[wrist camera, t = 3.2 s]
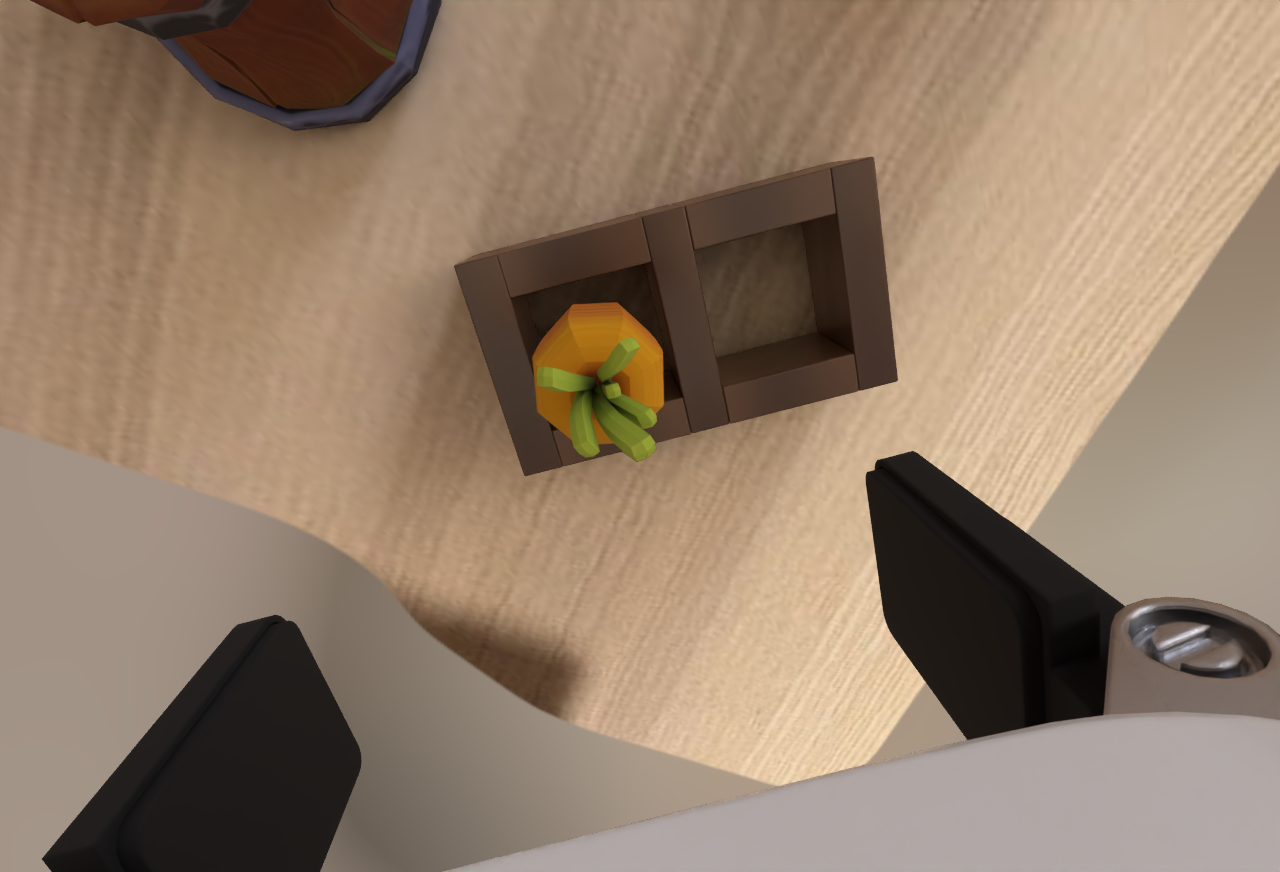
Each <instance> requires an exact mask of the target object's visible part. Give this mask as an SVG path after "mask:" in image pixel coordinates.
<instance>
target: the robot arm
mask: <svg viewBox="0 0 1280 872" xmlns="http://www.w3.org/2000/svg"><path fill="white" fill-rule="evenodd" d="M866 487H867V495H868V502H869V509H870V517H871V524H872V532H873V539H874V546H875V554H876V561H877V569H878V576H879V584H880V591H881V598H882V606H883V612H884V617H885V620H886V623H887V626H888V628H889V630H890V632H891V634H892V635H893V637H894V638H895V640H896V641H897V643H898V644H899V645H900V647H901V648H902V650H903V651H904V652H905V654H906V655H907V657H908V658H909V659H910V661H911V662H912V664H913V665H914V666H915V668H916V669H917V670H918V672H919V673H920V675H921V676H922V677H923V679H924V680H925V682H926V683H927V684H928V686H929V687H930V689H931V690H932V691H933V693H934V694H935V695H936V697H937V698H938V700H939V701H940V703H941V704H942V705H943V707H944V708H945V709H946V711H947V712H948V714H949V715H950V716H951V718H952V719H953V721H954V722H955V723H956V725H957V726H958V727H959V729H960V730H961V732H962V733H963V735H964V736H965V737H966V738H967V740H966V741H962V742H957V743H953V744H947V745H943V746H939V747H934V748H930V749H927V750H922V751H918V752H914V753H910V754H907V755H902V756H898V757H894V758H891V759H886V760H882V761H878V762H874V763H870V764H866V765H862V766H858V767H854V768H850V769H846V770H842V771H838V772H834V773H830V774H826V775H822V776H818V777H814V778H810V779H806V780H802V781H797V782H793V783H789V784H785V785H781V786H777V787H774V788H770V789H765V790H761V791H757V792H753V793H749V794H745V795H741V796H737V797H734V798H729V799H725V800H721V801H717V802H713V803H709V804H705V805H702V806H698V807H694V808H690V809H686V810H682V811H678V812H674V813H670V814H666V815H662V816H658V817H654V818H650V819H647V820H643V821H639V822H635V823H631V824H627V825H623V826H619V827H615V828H611V829H607V830H604V831H600V832H596V833H592V834H588V835H584V836H580V837H576V838H572V839H568V840H564V841H561V842H556V843H553V844H549V845H545V846H541V847H537V848H533V849H529V850H525V851H521V852H517V853H513V854H510V855H505V856H501V857H498V858H494V859H490V860H486V861H482V862H478V863H475V864H471V865H466V866H462V867H458V868H454V869H450V870H446V871H442V872H1280V635H1279V634H1278V633H1277V632H1276V631H1274V630H1273V629H1272V628H1271V627H1270V626H1269V625H1267V624H1265V623H1264V622H1262V621H1259V620H1258V619H1256V618H1254V617H1252V616H1250V615H1249V614H1247V613H1245V612H1242V611H1239V610H1236V609H1233V608H1230V607H1228V606H1225V605H1222V604H1218V603H1213V602H1209V601H1204V600H1199V599H1194V598H1178V597H1161V598H1152V599H1144V600H1141V601H1138V602H1135V603H1132V604H1129V605H1127V606H1124V605H1123V604H1121V603H1120V602H1119V601H1117V600H1116V599H1115V598H1113V597H1112V596H1111V595H1109V594H1108V593H1107V592H1105V591H1104V590H1102V589H1101V588H1100V587H1098V586H1097V585H1096V584H1094V583H1093V582H1092V581H1090V580H1089V579H1088V578H1086V577H1085V576H1084V575H1082V574H1081V573H1080V572H1078V571H1077V570H1075V569H1074V568H1072V567H1071V566H1070V565H1069V564H1067V563H1066V562H1064V561H1063V560H1062V559H1061V558H1059V557H1058V556H1057V555H1055V554H1054V553H1052V552H1051V551H1050V550H1048V549H1047V548H1046V547H1044V546H1043V545H1041V544H1040V543H1039V542H1038V541H1036V540H1035V539H1034V538H1032V537H1031V536H1030V535H1028V534H1027V533H1025V532H1024V531H1023V530H1021V529H1020V528H1019V527H1017V526H1016V525H1015V524H1013V523H1012V522H1011V521H1009V520H1008V519H1006V518H1004V517H1003V516H1001V515H1000V514H999V513H997V512H996V511H994V510H993V509H992V508H990V507H989V506H988V505H986V504H985V503H984V502H982V501H981V500H980V499H978V498H977V497H976V496H974V495H973V494H972V493H970V492H969V491H968V490H966V489H965V488H964V487H962V486H961V485H959V484H958V483H957V482H955V481H954V480H953V479H951V478H950V477H949V476H947V475H946V474H945V473H943V472H942V471H941V470H939V469H938V468H937V467H935V466H934V465H933V464H931V463H930V462H928V461H927V460H926V459H924V458H923V457H922V456H920V455H919V454H918V453H916V452H914V451H911V452H907V453H904V454H900V455H896V456H892V457H888V458H884V459H880V460H877V462H876V463H875V470H873V471H870V472H867V474H866ZM360 768H361V752H360V749H359V746H358V744H357V742H356V740H355V738H354V736H353V734H352V732H351V730H350V728H349V726H348V724H347V722H346V720H345V718H344V716H343V714H342V712H341V710H340V708H339V706H338V704H337V702H336V700H335V698H334V697H333V694H332V692H331V690H330V688H329V686H328V685H327V683H326V681H325V679H324V677H323V675H322V673H321V671H320V669H319V667H318V665H317V663H316V661H315V659H314V657H313V655H312V653H311V651H310V649H309V647H308V646H307V643H306V641H305V639H304V637H303V635H302V633H301V631H300V629H299V628H298V626H297V625H296V624H295V623H294V622H292V621H286V620H285V619H284V618H282V617H281V616H278V615H273V616H269V617H265V618H261V619H257V620H254V621H250V622H246V623H242V624H238V625H237V626H236V627H234V628H233V629H232V631H231V632H230V633H229V634H228V635H227V637H226V638H225V639H224V640H223V641H222V643H221V644H220V645H219V646H218V647H217V649H216V650H215V651H214V652H213V653H212V655H211V656H210V657H209V659H207V661H206V662H205V663H204V664H203V665H202V667H201V668H200V669H199V670H198V671H197V673H196V674H195V675H194V676H193V678H192V679H191V680H190V681H189V682H188V684H187V685H186V686H185V687H184V688H183V690H182V691H181V692H180V693H179V694H178V696H177V697H176V698H175V699H174V700H173V702H172V703H171V704H170V705H169V706H168V708H167V709H166V710H165V711H164V712H163V714H162V715H161V716H160V717H159V718H158V720H157V721H156V722H155V723H154V724H153V726H152V727H151V728H150V729H149V730H148V732H147V733H146V734H145V735H144V736H143V738H142V739H141V740H140V741H139V742H138V744H137V745H136V746H135V747H134V749H133V750H132V751H131V752H130V753H129V755H128V756H127V757H126V758H125V760H124V761H123V762H122V763H121V764H120V765H119V767H118V768H117V769H116V770H115V771H114V773H113V774H112V775H111V776H110V777H109V779H108V780H107V781H106V782H105V783H104V785H103V786H102V787H101V788H100V789H99V791H98V792H97V793H96V795H95V796H94V797H93V798H92V799H91V800H90V801H89V803H88V804H87V805H86V806H85V808H84V809H83V810H82V811H81V812H80V814H79V815H78V816H77V817H76V818H75V820H74V821H73V822H72V823H71V824H70V826H69V827H68V828H67V829H66V830H65V832H64V833H63V834H62V835H61V836H60V838H59V839H58V840H57V841H56V842H55V844H54V845H53V846H52V847H51V848H50V850H49V851H48V852H47V853H46V855H45V856H44V857H43V858H42V860H43V861H44V862H45V864H46V865H47V866H48V868H49V869H50V870H51V871H52V872H320V870H321V868H322V866H323V863H324V860H325V858H326V855H327V853H328V850H329V848H330V845H331V843H332V840H333V838H334V835H335V832H336V830H337V828H338V825H339V823H340V820H341V818H342V815H343V812H344V810H345V808H346V805H347V802H348V800H349V797H350V795H351V792H352V790H353V787H354V785H355V782H356V780H357V777H358V775H359V772H360Z"/></svg>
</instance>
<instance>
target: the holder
mask: <svg viewBox="0 0 1280 872" xmlns="http://www.w3.org/2000/svg"><path fill="white" fill-rule="evenodd" d="M798 223H802V226H803V232H804V239H805V246H806V253H807V260H808V266H809V273H810V280H811V287H812V293H813V300H814V307H815V314H816V320H817V327H818V332H816V333H812V334H808V335H804V336H800V337H797V338H793V339H789V340H785V341H781V342H777V343H773V344H769V345H765V346H761V347H758V348H754V349H750V350H746V351H742V352H738V353H734V354H730V355H726V356H722V357H719V358H716V355H715V350H714V345H713V341H712V336H711V331H710V326H709V321H708V316H707V312H706V307H705V302H704V297H703V292H702V288H701V283H700V278H699V273H698V268H697V263H696V259H695V254H694V250H698V249H702V248H706V247H710V246H713V245H717V244H721V243H725V242H729V241H733V240H737V239H740V238H744V237H748V236H752V235H756V234H760V233H764V232H768V231H771V230H775V229H779V228H783V227H787V226H791V225H795V224H798ZM644 263H645V265H646V269H647V274H648V278H649V282H650V286H651V291H652V295H653V299H654V303H655V308H656V312H657V316H658V320H659V325H660V329H661V333H662V338H663V342H664V346H665V350H666V355H667V359H668V363H669V367H670V370H667V371H664V372H663V380H664V405H663V407H662V408H661V409H660V410H659V411H658V412H657V413H656V416H657V422H656V423H655V424H654V425H653V427H650V428H646V429H643V430H644V431H645V432H647V433H648V434H649V435H650V436H651V437H652V438H653V440H654V441H655V443H657V442H661V441H665V440H669V439H673V438H677V437H681V436H685V435H689V434H691V433H696V432H700V431H703V430H707V429H711V428H715V427H719V426H723V425H727V424H729V422H730V423H735V422H739V421H743V420H747V419H751V418H755V417H759V416H763V415H767V414H771V413H774V412H778V411H782V410H786V409H790V408H794V407H798V406H802V405H806V404H810V403H814V402H818V401H822V400H825V399H829V398H833V397H837V396H841V395H845V394H849V393H853V392H857V391H859V390H860V391H861V390H865V389H869V388H873V387H877V386H881V385H884V384H888V383H892V382H896V381H898V378H897V368H896V359H895V350H894V340H893V331H892V321H891V312H890V303H889V293H888V284H887V275H886V265H885V256H884V246H883V237H882V228H881V218H880V209H879V200H878V190H877V181H876V172H875V162H874V157H866V158H859V159H852V160H845V161H838V162H831V163H827V164H823V165H819V166H815V167H812V168H808V169H804V170H800V171H796V172H792V173H789V174H785V175H781V176H777V177H773V178H769V179H766V180H762V181H758V182H754V183H750V184H746V185H742V186H739V187H735V188H731V189H727V190H723V191H719V192H716V193H712V194H708V195H704V196H700V197H696V198H693V199H689V200H685V201H681V202H677V203H673V204H671V205H666V206H662V207H658V208H654V209H650V210H647V211H643V212H639V213H635V214H631V215H627V216H623V217H620V218H616V219H612V220H608V221H604V222H600V223H596V224H593V225H589V226H585V227H581V228H577V229H573V230H570V231H566V232H562V233H558V234H554V235H550V236H547V237H543V238H539V239H535V240H531V241H527V242H523V243H520V244H516V245H512V246H508V247H504V248H500V249H497V250H493V251H489V252H485V253H481V254H477V255H474V256H472V257H470V258H468V259H466V260H464V261H462V262H460V263H458V264H456V265H455V266H454V268H455V271H456V274H457V277H458V280H459V283H460V286H461V289H462V292H463V295H464V298H465V301H466V303H467V306H468V309H469V312H470V315H471V318H472V321H473V324H474V327H475V330H476V333H477V336H478V339H479V342H480V345H481V348H482V351H483V354H484V357H485V360H486V363H487V366H488V369H489V372H490V375H491V378H492V381H493V384H494V387H495V390H496V393H497V396H498V399H499V402H500V405H501V408H502V410H503V413H504V416H505V419H506V422H507V425H508V428H509V431H510V434H511V437H512V440H513V443H514V446H515V449H516V452H517V455H518V458H519V461H520V464H521V467H522V470H523V473H524V476H528V475H532V474H536V473H540V472H544V471H548V470H552V469H556V468H560V467H562V466H567V465H571V464H575V463H579V462H583V461H587V460H591V459H595V458H599V457H602V456H606V455H610V454H614V453H618V452H622V450H621V449H620V448H619V447H617V446H616V445H615V444H614V443H611V444H598V445H599V450H600V452H599V453H598V454H596V455H595V456H593V457H584V456H582V455H580V454H579V453H578V452H577V451H576V449H575V448H574V447H573V443H572V440H571V439H570V438H568V437H567V436H566V435H565V434H564V433H562V432H561V431H560V430H559V429H557V428H556V427H555V426H554V425H553V424H551V423H550V422H549V421H548V420H546V419H545V418H544V417H543V416H542V415H540V414H539V413H538V412H537V403H536V393H535V382H534V371H533V360H532V357H533V355H534V352H535V350H536V348H537V346H538V345H539V343H540V342H539V338H538V335H537V332H536V328H535V325H534V322H533V319H532V315H531V312H530V309H529V305H528V302H527V299H526V295H525V294H528V293H532V292H536V291H540V290H544V289H548V288H552V287H555V286H559V285H563V284H567V283H571V282H575V281H579V280H582V279H586V278H590V277H594V276H598V275H602V274H606V273H610V272H613V271H617V270H621V269H625V268H629V267H633V266H637V265H640V264H644ZM641 429H642V428H641Z"/></svg>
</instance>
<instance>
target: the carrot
mask: <svg viewBox="0 0 1280 872" xmlns="http://www.w3.org/2000/svg"><path fill="white" fill-rule="evenodd" d="M532 360H533V371H534V382H535V393H536V403H537V412H538V413H539V414H540V415H542V416H543V417H544V418H545V419H546V420H548V421H549V422H550V423H551V424H553V425H554V426H555V427H556V428H557V429H559V430H560V431H561V432H562V433H564V434H565V435H566V436H567V437H568V438H570V439H571V440H572V443H573V447H574V448H575V449H576V451H577V452H578V453H579V454H580V455H582V456H584V457H593V456H595V455H596V454H598V453H599V452H600V450H599V445H598V444H611V443H614V444H615V445H616V446H617V447H619V448H620V449H621V450H622V451H623V452H624V453H625V454H627V455H628V456H629V457H631V458H632V459H634V460H635V461H636V462H639V461H641V460H644V459H646V458H648V457H649V456H650V455H651V454H652V453H653V452H654V451H655V450H656V444H655V441H654V440H653V438H652V437H651V436H650V435H649V434H648V433H647V432H645V431H644V430H643V429H646V428H650V427H653V425H654V424H655V423H656V422H657V416H656V413H657V412H658V411H659V410H660V409H661V408H662V407H663V405H664V380H663V350H662V349H661V347H660V345H659V344H658V342H657V341H656V339H655V338H654V337H653V336H652V334H651V333H650V332H649V331H648V330H647V329H646V328H645V327H643V326H642V325H641V324H640V323H639V322H638V321H637V320H636V319H635V318H634V317H633V316H632V315H630V314H629V313H628V312H627V311H626V310H625V309H624V308H623V307H622V306H621V305H620V304H618V303H617V302H613V303H591V304H572V306H571V307H570V308H569V309H568V310H567V311H566V312H565V313H564V315H563V316H562V317H561V318H560V319H559V320H558V321H557V322H556V324H555V325H554V326H553V327H552V328H551V329H550V330H549V332H548V333H547V334H546V335H545V336H544V337H543V339H542V340H541V342H540V343H539V345H538V346H537V348H536V350H535V352H534V355H533V357H532ZM641 428H642V429H641Z"/></svg>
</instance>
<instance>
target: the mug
mask: <svg viewBox="0 0 1280 872" xmlns="http://www.w3.org/2000/svg"><path fill="white" fill-rule="evenodd" d="M30 1H33V2H35V3H37V4H39V5H41V6H43V7H45V8H47V9H49V10H51V11H53V12H55V13H57V14H59V15H61V16H63V17H65V18H67V19H69V20H71V21H73V22H76V23H82V22H85V21H87V22H89V23H91V24H92V25H94V26H98V25H103V24H108V23H113V22H118V23H121V24H123V25H126V26H129V27H131V28H134V29H136V30H139V31H141V32H144V33H146V34H149V35H151V36H154V37H156V38H157V39H158V40H159V41H160V42H161V43H162V44H163V45H164V46H165V47H166V48H167V49H168V50H169V51H170V52H171V54H172V55H173V56H174V57H175V58H176V59H177V60H178V61H179V62H180V63H181V64H182V65H183V66H184V67H185V68H186V69H187V70H188V71H189V72H190V73H191V74H192V75H193V76H194V77H195V78H196V79H197V80H198V81H199V82H200V83H201V85H202V86H203V87H204V88H205V89H206V90H207V91H208V92H209V93H210V94H211V95H212V96H213V97H214V98H216V99H218V100H221V101H223V102H226V103H229V104H231V105H234V106H236V107H239V108H241V109H244V110H246V111H249V112H252V113H254V114H256V115H259V116H261V117H263V118H266V119H268V120H270V121H273V122H275V123H278V124H280V125H282V126H285V127H287V128H289V129H292V130H294V131H295V130H305V129H313V128H321V127H329V126H337V125H345V124H352V123H360V122H368V121H370V120H371V119H372V118H373V117H374V116H375V115H376V114H377V113H378V112H379V111H380V110H381V109H382V108H383V107H384V106H385V105H386V104H387V103H388V102H389V101H390V100H391V99H392V98H393V97H394V96H395V95H396V94H397V93H398V92H399V91H400V90H401V89H402V88H403V87H404V86H405V85H406V84H407V83H408V82H409V81H410V80H411V79H412V78H413V77H414V76H415V75H416V74H417V72H418V69H419V66H420V63H421V60H422V57H423V54H424V52H425V49H426V46H427V43H428V40H429V37H430V34H431V31H432V29H433V26H434V23H435V20H436V17H437V14H438V11H439V8H440V5H441V0H30Z"/></svg>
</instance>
